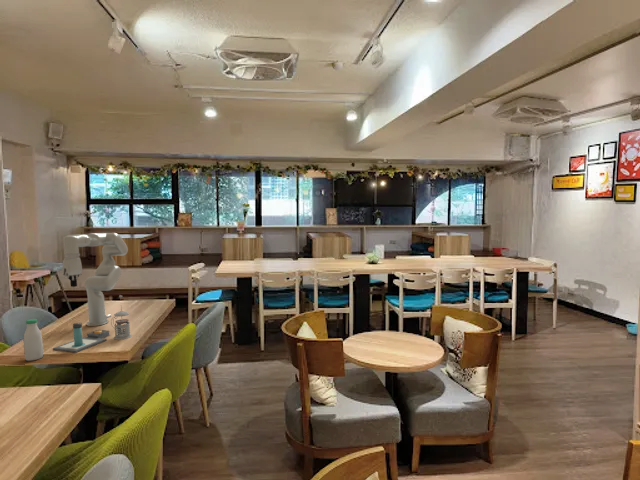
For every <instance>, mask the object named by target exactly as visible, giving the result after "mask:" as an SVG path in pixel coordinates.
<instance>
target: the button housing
mask: <svg viewBox="0 0 640 480" xmlns="http://www.w3.org/2000/svg"><path fill="white" fill-rule="evenodd" d="M98 330H99V329H96V330H94V331H91V332H87V334H86V337H93V338H102V339H105V338H107V337H109V336H110V330H109V329H108V330H106V329H101V330H102V332H101V333H99V334H96V333H94V332H95V331H98Z"/></svg>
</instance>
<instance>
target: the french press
mask: <svg viewBox="0 0 640 480" xmlns="http://www.w3.org/2000/svg"><path fill="white" fill-rule="evenodd" d="M118 298H120V299H122V298H123V295H121V294H119V296H118ZM122 308H123V307H122V306H120V310H121V311H118V312H116V313H114V314H113V318H111V319H110V325H111V327H113V329H114V334H115V336H114V337H113V339H114V340H118V341H119V340H120V341H121V340H125V339H129V338H131V337H132V336H133V335H132V334H131V332H130V331H131V330H130V329H131V328H130V322H129V321H130V320H129V319H127V318H126V319H124V318H121V319H117V318H118V317H126V316H128V315H130V313H129V312H128V311H126V310H125V311H123V310H122ZM114 319H115V323H114ZM116 319H117V320H116ZM112 323H113V324H112Z"/></svg>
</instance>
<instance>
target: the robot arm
mask: <svg viewBox="0 0 640 480" xmlns="http://www.w3.org/2000/svg"><path fill="white" fill-rule="evenodd" d="M101 246H102V248H101V253H102V255H101V256H102V261H101V262H100V264H99V265H98V267H97V268H96V270H95V273H94V275H92V276H88V277H87V278H86V279H85V281H84V286H85V290H86V295H87V308H88V321H87V322H86V326H88V327H96V326H102V325H107V323H109V320H108V318H111V317H112V315H111V314H110V313H109V314H106V308H105V307H106V306H105V294H103V293H104V292H105V291H106V292H108V291H112V290H113V289H114V287H115V286H116V285H117V283H118V281H119V280H120V278H121V275H122V268H121V267H120V266H119V265H116V263H117V262H116V260H115V258H114V257H115V256H116V257H119V256H122V257H123V256H126V255H127V254H128V251H129V248H128V245H127V244H126V242H125V241H124V239H123V238H122V236H121V235H120V234H118V233H116V232H95V233H84V234H81V233H80V234H67V235H66V236H63V251H64V253H63V255H64V259H63V261H62V269H61V270H62V275H63V276H64V278H65V279H68V280H69V281H70V287H73V288H74V287H75V288H76V287H78V282H77V281H78V279H79V277H81V276H82V273H83V265H82V260H81V257H80V256H81V253H80V249H79V248H84V247H101Z"/></svg>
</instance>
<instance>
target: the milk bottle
mask: <svg viewBox="0 0 640 480" xmlns="http://www.w3.org/2000/svg"><path fill="white" fill-rule="evenodd" d="M25 324H26V329H25V331H24V334H23V352H24V360H25V361H28V362H30V361H36V360H39V359H42V358H43V357H44V345H43V335H42V331H41V330H40V328H39V327H38V319H37V318H31V319H30V318H29V319H27V320H26V321H25Z"/></svg>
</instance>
